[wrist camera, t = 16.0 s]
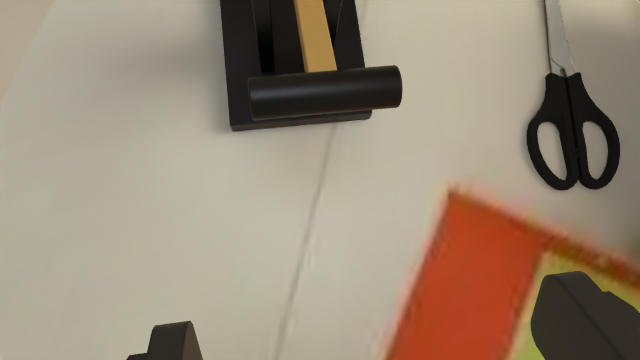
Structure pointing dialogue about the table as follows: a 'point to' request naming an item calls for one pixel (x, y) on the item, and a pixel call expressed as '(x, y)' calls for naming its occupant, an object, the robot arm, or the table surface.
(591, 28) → the table surface
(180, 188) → the table surface
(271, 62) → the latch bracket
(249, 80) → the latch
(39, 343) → the table surface
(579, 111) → the scissors
